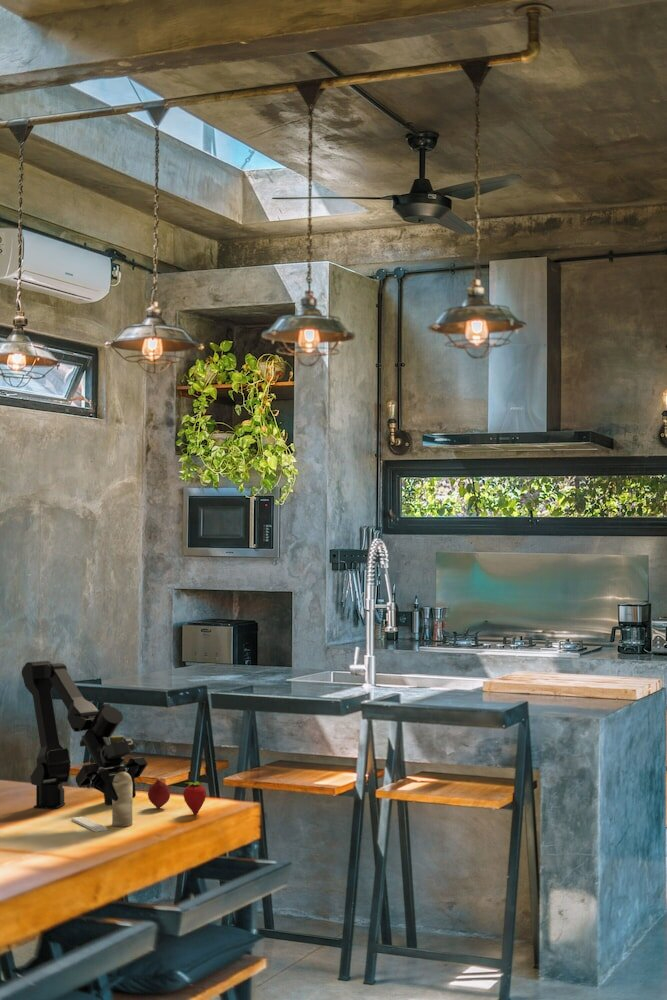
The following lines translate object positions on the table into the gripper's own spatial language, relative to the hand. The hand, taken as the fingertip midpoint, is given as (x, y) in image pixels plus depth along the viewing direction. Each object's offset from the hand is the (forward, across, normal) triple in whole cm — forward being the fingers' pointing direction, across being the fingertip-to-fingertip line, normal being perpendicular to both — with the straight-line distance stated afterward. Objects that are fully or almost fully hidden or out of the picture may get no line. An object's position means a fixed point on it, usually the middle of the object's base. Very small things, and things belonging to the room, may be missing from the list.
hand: (125, 798), depth 303 cm
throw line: (0, -6, +10) cm, 12 cm away
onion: (-3, +19, +13) cm, 23 cm away
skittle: (+4, 0, +6) cm, 7 cm away
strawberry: (+6, +20, +3) cm, 21 cm away
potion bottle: (-13, +15, +23) cm, 31 cm away
